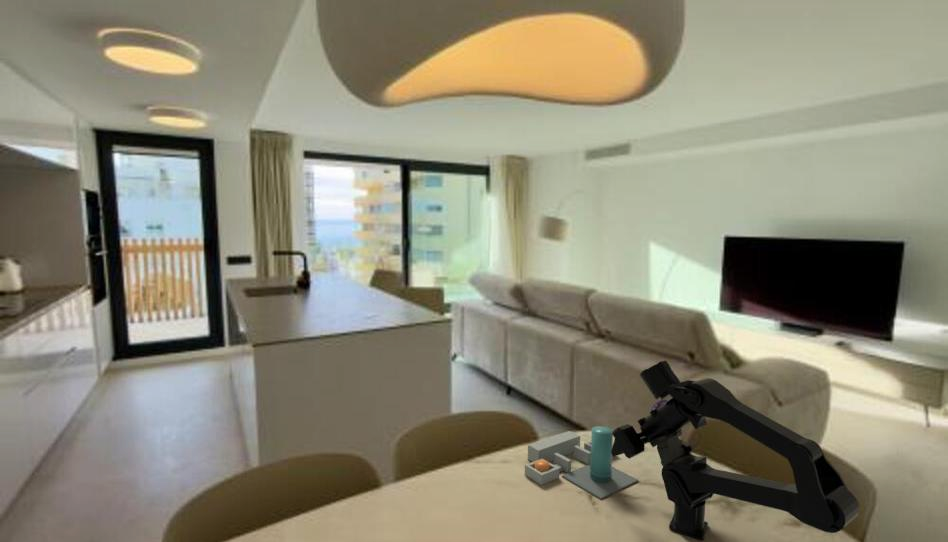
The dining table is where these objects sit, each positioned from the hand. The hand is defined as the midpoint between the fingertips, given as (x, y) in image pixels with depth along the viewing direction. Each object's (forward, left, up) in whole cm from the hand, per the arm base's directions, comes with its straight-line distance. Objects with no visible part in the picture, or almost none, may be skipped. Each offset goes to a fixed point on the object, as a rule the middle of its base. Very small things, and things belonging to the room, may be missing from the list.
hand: (625, 449), depth 109 cm
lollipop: (+26, -3, -11) cm, 29 cm away
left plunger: (-5, +19, -10) cm, 22 cm away
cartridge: (+2, +6, -10) cm, 12 cm away
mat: (+2, +6, -10) cm, 12 cm away
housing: (+6, +17, -10) cm, 21 cm away
